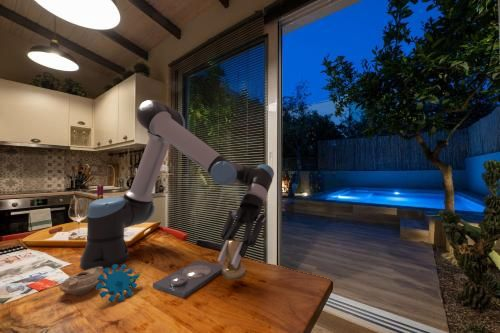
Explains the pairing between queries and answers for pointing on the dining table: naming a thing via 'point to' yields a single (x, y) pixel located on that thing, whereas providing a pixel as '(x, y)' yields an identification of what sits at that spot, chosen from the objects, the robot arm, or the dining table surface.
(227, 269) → the metal knob
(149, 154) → the robot arm
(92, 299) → the dining table surface
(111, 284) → the gear
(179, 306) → the dining table surface
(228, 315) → the dining table surface
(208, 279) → the carrier plate
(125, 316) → the dining table surface
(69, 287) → the pottery oil lamp
